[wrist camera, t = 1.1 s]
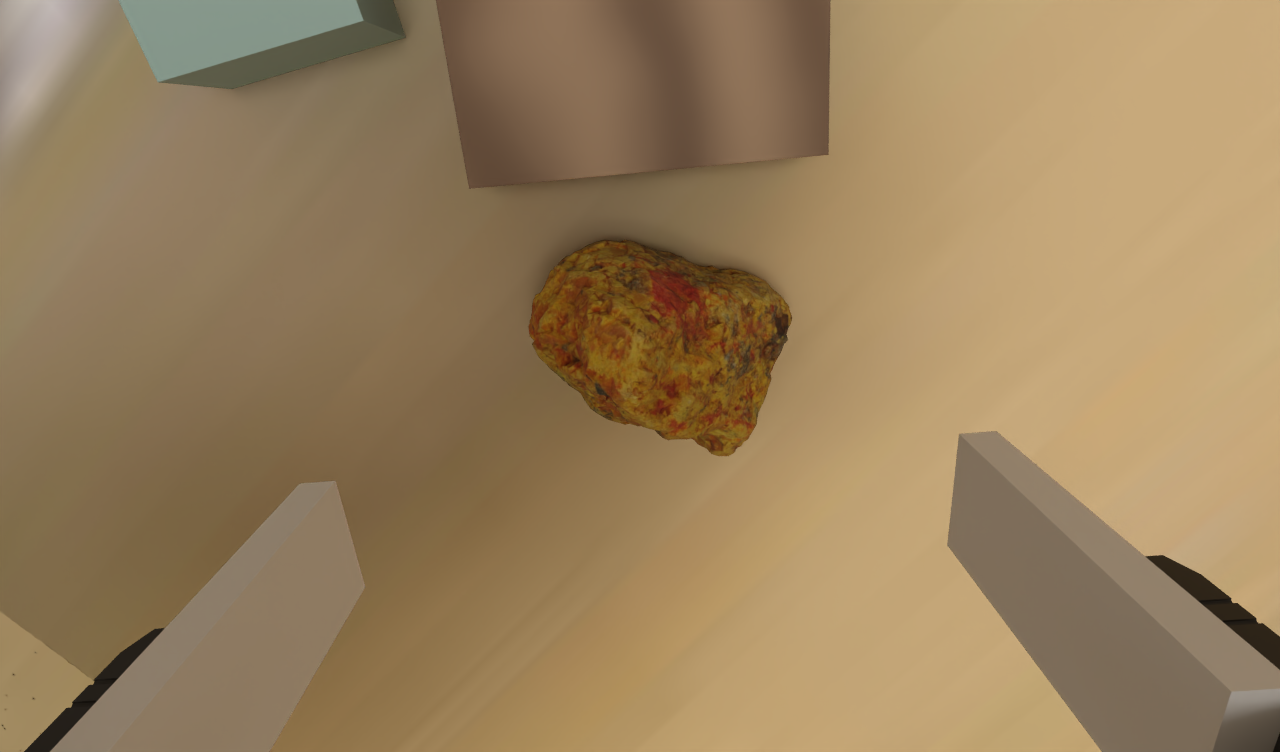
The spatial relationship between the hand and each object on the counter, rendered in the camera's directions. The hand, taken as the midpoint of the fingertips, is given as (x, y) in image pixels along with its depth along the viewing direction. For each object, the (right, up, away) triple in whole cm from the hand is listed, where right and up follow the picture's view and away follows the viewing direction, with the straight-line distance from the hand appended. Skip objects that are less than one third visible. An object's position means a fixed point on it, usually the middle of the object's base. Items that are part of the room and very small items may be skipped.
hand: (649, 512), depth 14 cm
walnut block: (-1, +19, +14) cm, 24 cm away
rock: (-3, +7, +18) cm, 20 cm away
